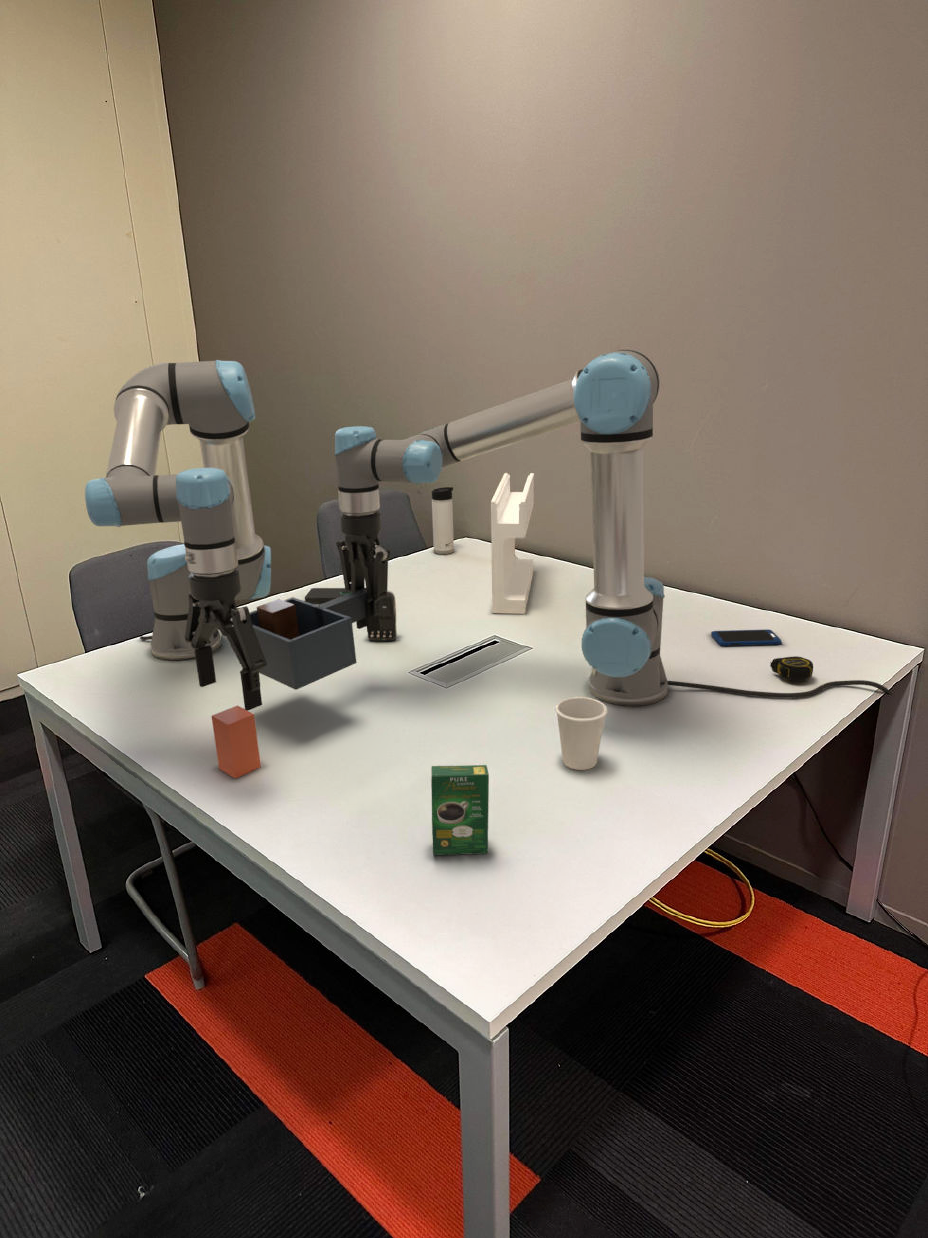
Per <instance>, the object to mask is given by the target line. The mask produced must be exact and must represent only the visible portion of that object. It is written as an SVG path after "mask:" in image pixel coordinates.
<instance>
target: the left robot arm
mask: <svg viewBox="0 0 928 1238" xmlns="http://www.w3.org/2000/svg"><path fill="white" fill-rule="evenodd" d="M248 379H249V378H248V377H247V373H246V370H245V368H244V366H243V365H242V364H241V363H240V362H238V361H235V360H219V359H216V360H203V361H184V362H182V361H181V362H180V361H179V362H160V363H155V364H153V365H150V366H147V367H145V368H143V369H141V370H140V371H138V372H137V373H135V374H134V375H133V376H131V377H130V378H129V379H128V380H127V381H126V382H125V383H124V384H123V385H122V387H121V388H120V389H119V391H118V393H117V394H116V397H115V401H114V404H113V414H114V419H115V421H116V425H115V429H114V434H113V438H112V439H113V440H112V444H111V448H110V449H111V450H110V454H109V459H108V463H107V467H106V473H105V477H100V478H96V479H91V480H89V481H87V483H86V484H85V488H84V500H85V506H86V511H87V515H88V518H89V520H90V522H91V523H92V524H93V525H94V526H96V527H117V528H120V527H125V526H136V525H149V524H160V523H161V524H162V523H163V524H164V523H177V522H178V523H179V522H180V523H181V530H182V535H183V543H181V544H177V545H173V546H172V545H171V546H169V547H166V548H162V549H160V550H158V551H155V552H154V553H152V554H151V555H150V556H149V557H148V559H147V561H146V569H147V580H148V583H149V589H150V595H151V603H152V607H153V613H154V626H153V628H152V629H153V630H152V635H147V636H143V635H141V636H140V637H139V640H142V641H149V640H150V650H151V654H152V655H153V656H154V657H156V658H157V659H158V658H159V659H161V660H166V661H167V660H168V661H184V660H191V659H195V664H196V671H197V678H198V679H197V680H198V685H199V687H200V688H205V687H206V686H209V685H213V684H216V683H217V678H216V671H215V663H214V655H213V652H215V651H216V650H218V649H219V648H220V647H221V645H222V636H223V637H226V639H227V642H228V643H229V645H230V647H231V649H232V651H233V653H234V655H235V656H236V658H237V661H238V663H239V662H240V663H239V665H240V666H241V668H242V669H241V670H240V671H239V674H240V681H241V689H242V696H243V697H242V698H243V705H244V709H245V710H247V711H251V710H253V709H256V708H258V707H262V706H263V701H262V691H261V680H260V679H261V678H260V673H259V670H260V669H263V668H265V667H267V663H266V660H265V657H264V655H263V652H262V649H261V647H260V644H259V641H258V639H257V636H256V633H255V631H254V628H253V625H252V623H251V619H250V609H249V607H248V606H241V607H238V606H237V603H236V601H243V600H244V601H245V600H249V601H252V600H254V599H261V598H266V597H267V596H268V595H269V594H270V592H271V585H272V584H271V583H272V549H271V547H270V546H268V545H264V541H263V539H262V537H261V536H259V535H258V534H256V529H255V521H254V514H253V506H252V500H251V491H250V484H249V483H250V482H249V475H248V467H247V459H246V451H245V445H244V444H245V443H244V437H245V435H246V434H247V433H248V432H249V430H250V423H252V421H255V420H256V411H255V405H254V401H253V396H252V391H251V386H250V384H249V380H248ZM171 425H188V428H189V433H190V435H191V436H193V437H194V438H195V439H197V440H199V446H200V447H199V448H200V454H201V459H202V466H203V467H197V468H190V469H186V470H182V471H180V472H179V473H174V474H173V473H172V474H161V475H159V474H157V466H158V459H159V458H158V457H159V450H160V443H161V436H162V435H161V434H162V431H163V430H164V429H165V428H166V426H171ZM156 474H157V475H156ZM233 625H234V626H233ZM247 663H248V664H247Z"/></svg>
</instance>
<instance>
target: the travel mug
mask: <svg viewBox="0 0 928 1238" xmlns="http://www.w3.org/2000/svg"><path fill="white" fill-rule="evenodd" d="M453 491H454V487H453V486H444V487H439V488H434V489H433V490H432V491H431V514H432V515H431V517H432V518H431V519H432V539H433V540H432V541H433V542H432V543H433V552H434V553H435V554H437V555H448V554H449V555H450V554H452V553H454V551H455V540H454V537H455V536H454V505H453V504H454V503H453Z"/></svg>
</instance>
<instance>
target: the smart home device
mask: <svg viewBox="0 0 928 1238" xmlns="http://www.w3.org/2000/svg"><path fill="white" fill-rule="evenodd" d="M350 593H351V592H350V591H346V589H345V587H312V588H310V590H309V591H308V592H307V593H306V595H305V596H304V601H305V602H308V603H311V604H323V603H326V602H328V601H331V600H334V599H336V598H339V597H342V596H344V595H347V594H350Z"/></svg>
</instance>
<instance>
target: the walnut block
mask: <svg viewBox="0 0 928 1238" xmlns="http://www.w3.org/2000/svg"><path fill="white" fill-rule="evenodd" d="M256 610H257V613H258V620H259V626H260V628H262V629H265V630H267V631H270V632H272V633H275V634H277V635H279V636H282V637H284V638H287V639H289V640H291V639H294V638H296V637H299V630H298V623H297V616H296V608H295V604H292V603H289V602H286V601H284V600H283V599H281V598H277V599H274V600H273V601H270V602H267V603H264V604H260V605H258V606H256Z"/></svg>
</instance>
